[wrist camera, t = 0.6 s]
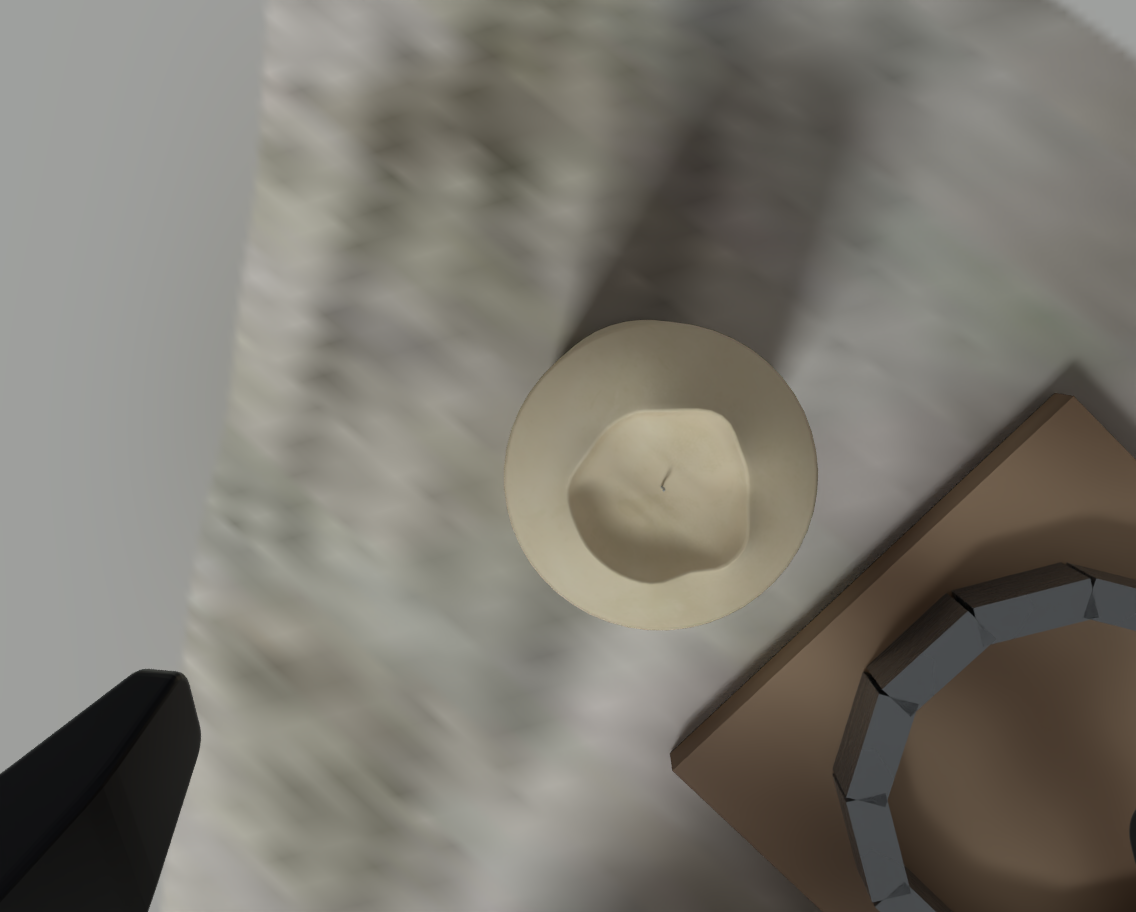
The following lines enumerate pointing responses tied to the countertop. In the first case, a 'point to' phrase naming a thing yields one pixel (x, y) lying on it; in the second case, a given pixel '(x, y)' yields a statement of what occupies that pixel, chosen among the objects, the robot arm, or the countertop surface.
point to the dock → (957, 701)
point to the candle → (660, 475)
